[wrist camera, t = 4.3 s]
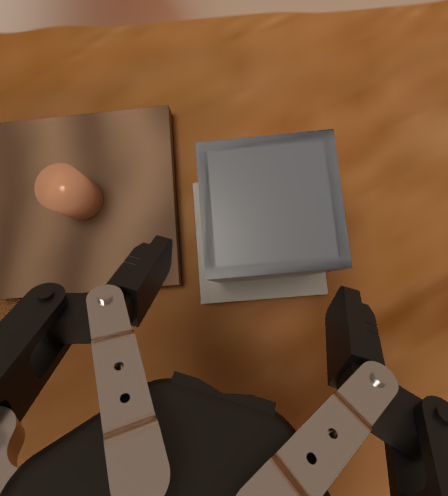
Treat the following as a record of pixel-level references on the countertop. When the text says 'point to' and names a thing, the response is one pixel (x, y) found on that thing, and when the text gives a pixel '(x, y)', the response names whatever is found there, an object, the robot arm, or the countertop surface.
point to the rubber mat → (252, 288)
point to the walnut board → (110, 182)
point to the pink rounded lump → (68, 192)
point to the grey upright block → (271, 207)
